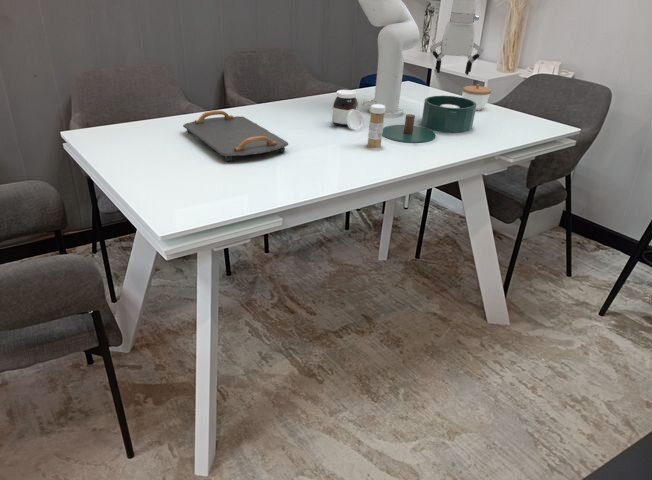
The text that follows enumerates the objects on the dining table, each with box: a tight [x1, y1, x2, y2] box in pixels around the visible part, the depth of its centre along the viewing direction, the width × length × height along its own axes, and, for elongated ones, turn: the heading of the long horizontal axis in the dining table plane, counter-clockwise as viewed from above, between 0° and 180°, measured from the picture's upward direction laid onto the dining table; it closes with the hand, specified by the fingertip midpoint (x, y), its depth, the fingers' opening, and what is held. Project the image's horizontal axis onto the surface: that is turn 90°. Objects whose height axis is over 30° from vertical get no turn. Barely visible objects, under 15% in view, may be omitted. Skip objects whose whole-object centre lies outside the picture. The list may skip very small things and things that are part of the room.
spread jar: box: [331, 89, 364, 131], centre depth 193 cm, size 12×11×12 cm
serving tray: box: [182, 110, 289, 163], centre depth 176 cm, size 39×23×6 cm, turn 31°
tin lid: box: [382, 113, 436, 144], centre depth 186 cm, size 19×19×7 cm
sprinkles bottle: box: [366, 104, 385, 149], centre depth 173 cm, size 5×5×13 cm
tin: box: [420, 95, 477, 134], centre depth 196 cm, size 18×23×9 cm
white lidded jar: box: [461, 83, 492, 111], centre depth 219 cm, size 11×11×9 cm
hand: (452, 73), depth 188 cm, fingers open, 9 cm apart
